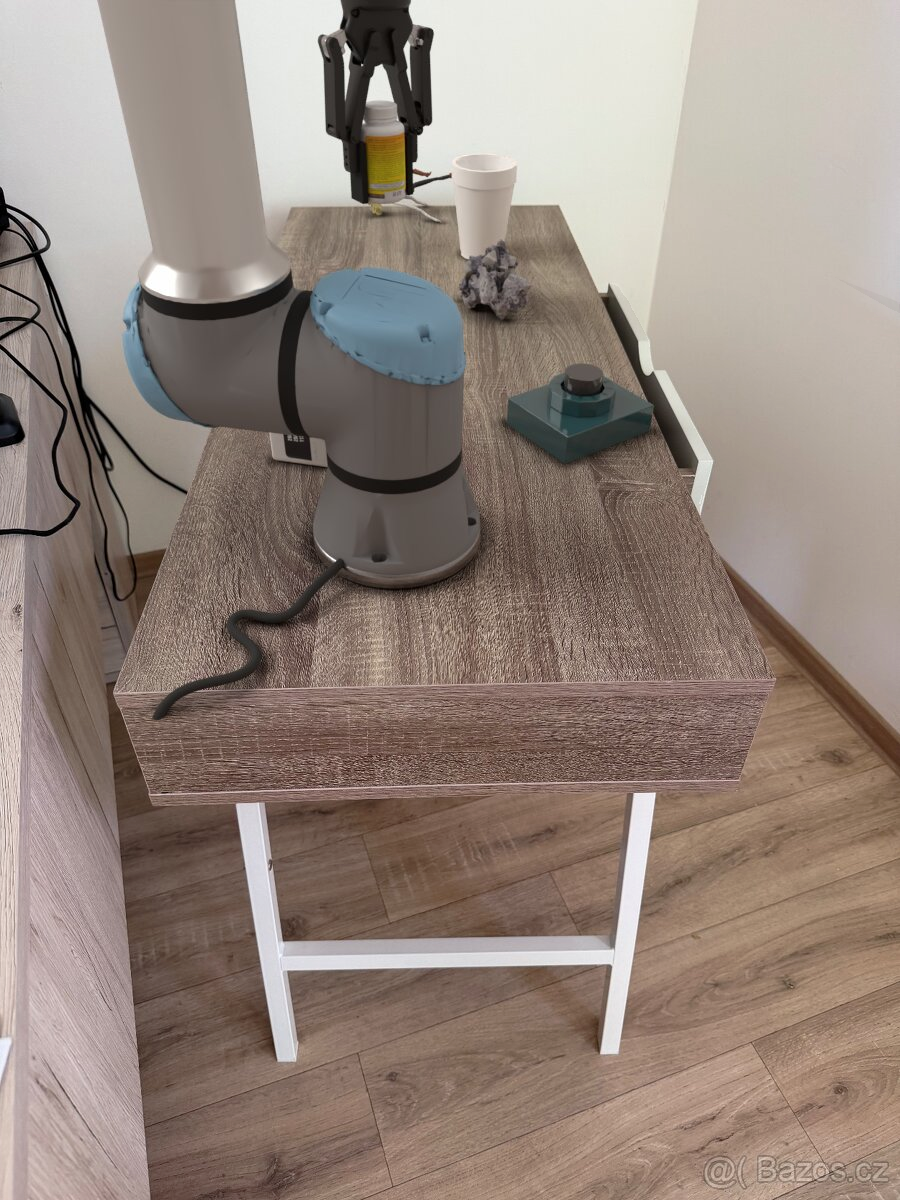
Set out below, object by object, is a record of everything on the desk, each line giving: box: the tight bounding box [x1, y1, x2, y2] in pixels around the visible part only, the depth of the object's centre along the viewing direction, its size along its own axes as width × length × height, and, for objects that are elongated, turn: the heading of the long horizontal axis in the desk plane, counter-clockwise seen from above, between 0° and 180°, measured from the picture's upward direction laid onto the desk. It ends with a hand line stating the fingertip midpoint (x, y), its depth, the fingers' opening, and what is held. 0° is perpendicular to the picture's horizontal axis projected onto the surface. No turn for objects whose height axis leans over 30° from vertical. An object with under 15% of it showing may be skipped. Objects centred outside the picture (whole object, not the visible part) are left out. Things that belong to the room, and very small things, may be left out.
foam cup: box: [451, 152, 518, 260], centre depth 135 cm, size 10×9×13 cm
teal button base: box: [506, 372, 655, 465], centre depth 99 cm, size 12×10×5 cm
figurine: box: [362, 168, 452, 224], centre depth 153 cm, size 10×9×20 cm
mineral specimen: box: [457, 239, 533, 321], centre depth 122 cm, size 12×9×10 cm
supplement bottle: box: [360, 100, 406, 205], centre depth 107 cm, size 6×6×10 cm
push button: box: [563, 362, 604, 397], centre depth 97 cm, size 4×4×2 cm
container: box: [268, 432, 327, 468], centre depth 92 cm, size 8×8×13 cm
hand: (382, 195), depth 110 cm, fingers closed on supplement bottle, 6 cm apart
